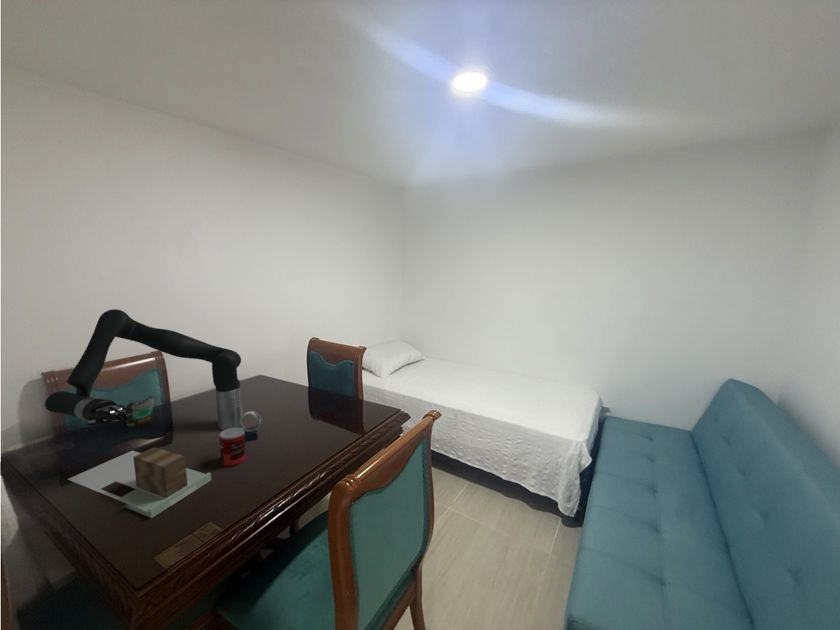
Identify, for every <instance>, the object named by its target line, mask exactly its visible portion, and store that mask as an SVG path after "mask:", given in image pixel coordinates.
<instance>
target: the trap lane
mask: <svg viewBox="0 0 840 630" xmlns="http://www.w3.org/2000/svg"><path fill="white" fill-rule="evenodd" d="M141 453H142V452H138V451H135V450H131V451H128V452H126V453H124V454H122V455H119V456H117V457H115V458H113V459H110V460H108V461H105V462H104V463H100V464H98V465H97V466H94V467H92V468H89V469H87V470H86V471H83V472H81V473H79V474H76V475H74V476H72V477H69V478H67V480H68V481H70V482H73V483H75V484H77V485H79V486H80V485H81V486H82V487H85V488H87V489H90V490H92V491H95V492H97V493H100V494H102V495H104V496H107V497H110V498H112V499H114V500H117V501H119V502H121V503H125V504H123V505H122V507H124V508H126V509H128V510H130V511H134V512H135V513H138V514H140V515H143V516H145V517H148V518H150V519H152V518H154V517H156V516H157V515H158V514H161V513H162V512H164V511H165V510H167V509H168V508H170V507H171V506H173V505H175V504H176V503H177V502H180V501H181V500H182V499H185V497H187V496H189V495H191V494H192V493H193V492H195V491H197V490H198V489H200V488H202V487H203V486H204V485H206V484H208V483H210V482H211V481H212V473H211V472H207V473H203V472H201V471H197V470H194V469H191V468H188V467H186V474H187V486H185V487H184V488H182V489H181V490H179V491H177V492H176V493H174V494H172V495H171V496H169V497H167V498H165V497H162V496H160V495H157V494H154V493H152V492H149V491H147V490H144V489H141V488H139V487H137V485H136V476H135V467H134V458H133V457H134V456H136V455H139V454H141ZM115 482H116V483H119V484H122V485H124V486H127V487H130V488H132V489H134V490H131V491H130V492H128V493H126V494H124V495H122V496H119V495H116V494H114V493H111V492H109V491H106V490H104V489H103V488H105V487H107V486H109V485H112V484H113V483H115Z"/></svg>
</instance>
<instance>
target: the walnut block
mask: <svg viewBox="0 0 840 630" xmlns="http://www.w3.org/2000/svg"><path fill="white" fill-rule="evenodd" d="M140 453H141V454H139V455H136V456H134V457H133V458H134V467H135V476H136V485H137V487H139V488H141V489H144V490H147V491H149V492H152V493H154V494H157V495H160V496H162V497H165V498H167V497H169V496H171V495H172V494H174V493H176V492H177V491H179V490H181V489H182V488H184V487H185V486H187V474H186V468H187V463H186V456H184V455H182V454H179V453H175V452H171V451H168V450H166V449H162V448H160V447H156V446H155V447H151V448H150V449H148V450H146V451H143V452H140Z"/></svg>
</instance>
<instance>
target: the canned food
mask: <svg viewBox="0 0 840 630" xmlns="http://www.w3.org/2000/svg"><path fill="white" fill-rule="evenodd" d="M218 438H219V439H218V440H219V451H220V452H219V454H220V455H219V456H220V462H221V465H222V466H224V467H235V466H238V465H240V464H241V463H243V462H245V460H246V456H247V455H246V442H245V431H244V429H242V428H241V427H238V428H230V429H226V430H222V431H220V433H219V437H218Z"/></svg>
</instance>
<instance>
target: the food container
mask: <svg viewBox="0 0 840 630" xmlns="http://www.w3.org/2000/svg"><path fill="white" fill-rule="evenodd" d="M132 403H133V405H134V411H133V413H132V417H133V418H132V420H129V421H127V422H126V426H137V427H140V426H139V425H142V426H144V425H143V424H145V425H147V424H150V423H151V422H152V421H153V420H152V419H153V418H154V417H153V413H154V412H153V411H154V410H153V409H154V408H153V407H154V404H155V400H154V397H153V396H152V395H149V396H148V397H147V398H145V399H143V400H138V401H136V402H132ZM150 421H151V422H150ZM146 423H147V424H146Z"/></svg>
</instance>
